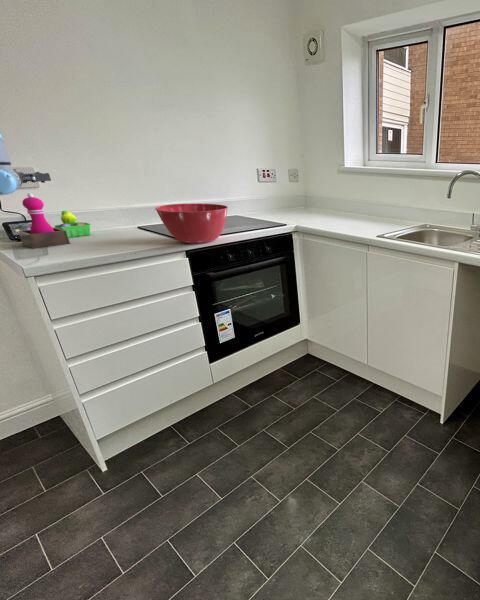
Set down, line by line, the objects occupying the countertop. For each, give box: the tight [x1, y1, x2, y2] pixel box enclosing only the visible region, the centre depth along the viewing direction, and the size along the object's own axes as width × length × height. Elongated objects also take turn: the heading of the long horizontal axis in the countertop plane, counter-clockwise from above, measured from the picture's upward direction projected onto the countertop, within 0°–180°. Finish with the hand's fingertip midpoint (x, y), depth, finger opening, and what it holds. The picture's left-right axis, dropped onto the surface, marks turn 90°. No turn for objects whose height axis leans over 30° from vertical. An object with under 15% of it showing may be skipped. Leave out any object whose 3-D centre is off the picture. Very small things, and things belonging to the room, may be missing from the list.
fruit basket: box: [54, 210, 92, 238], centre depth 162 cm, size 11×9×11 cm
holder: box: [17, 226, 71, 249], centre depth 146 cm, size 12×12×6 cm
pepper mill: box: [21, 192, 54, 234], centre depth 143 cm, size 7×7×20 cm
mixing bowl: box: [154, 203, 229, 245], centre depth 159 cm, size 28×28×15 cm
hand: (12, 175), depth 125 cm, fingers open, 13 cm apart
